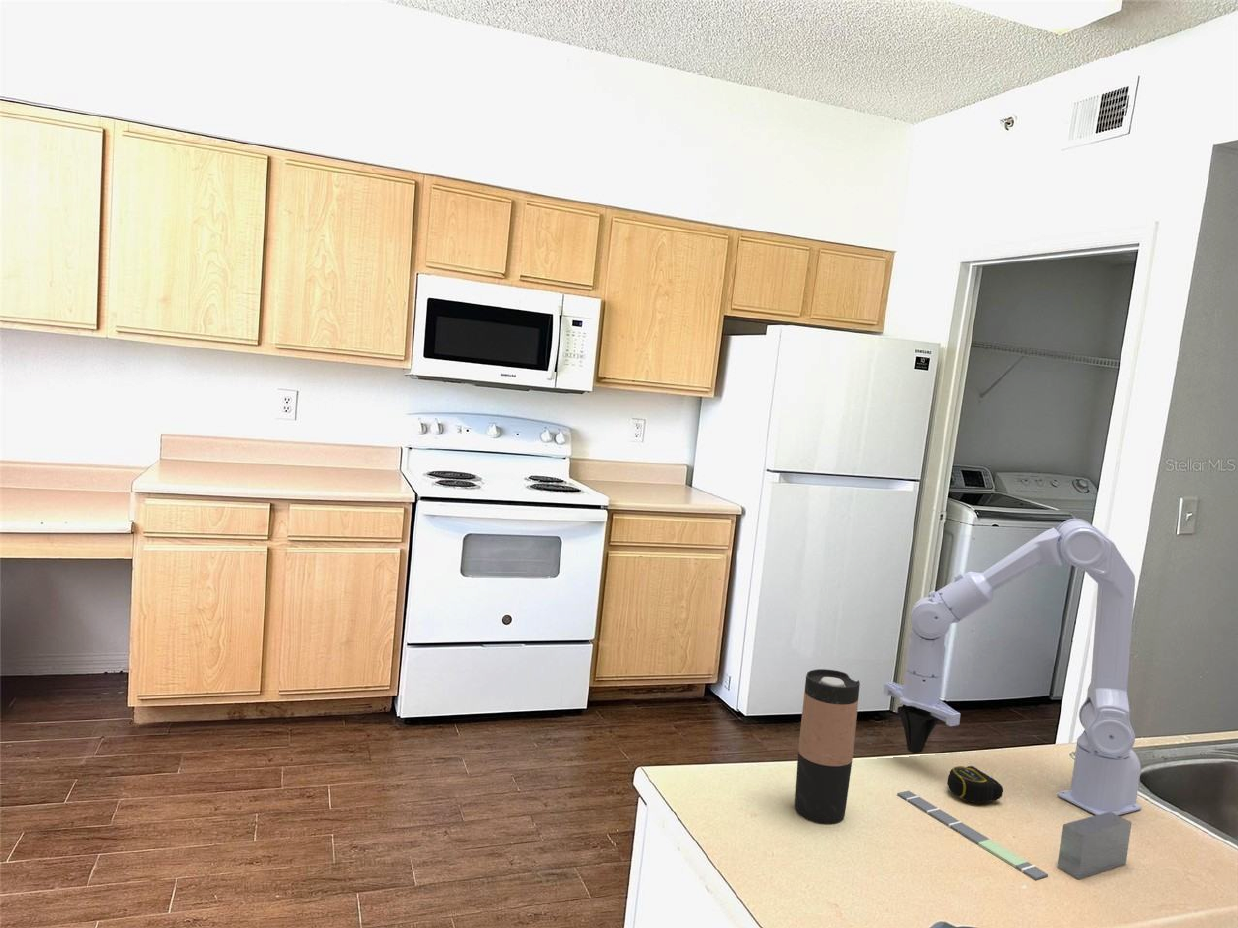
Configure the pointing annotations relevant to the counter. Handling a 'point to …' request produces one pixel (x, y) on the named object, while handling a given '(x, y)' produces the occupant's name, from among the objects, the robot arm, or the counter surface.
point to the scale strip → (975, 836)
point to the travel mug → (826, 745)
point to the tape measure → (973, 785)
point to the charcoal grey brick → (1094, 845)
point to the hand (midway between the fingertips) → (914, 751)
